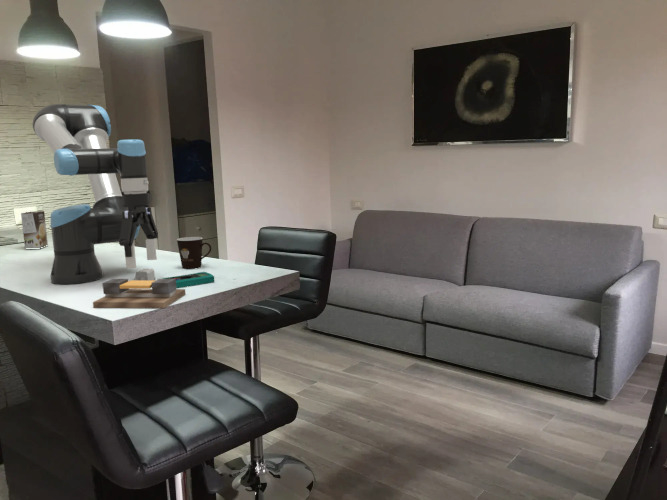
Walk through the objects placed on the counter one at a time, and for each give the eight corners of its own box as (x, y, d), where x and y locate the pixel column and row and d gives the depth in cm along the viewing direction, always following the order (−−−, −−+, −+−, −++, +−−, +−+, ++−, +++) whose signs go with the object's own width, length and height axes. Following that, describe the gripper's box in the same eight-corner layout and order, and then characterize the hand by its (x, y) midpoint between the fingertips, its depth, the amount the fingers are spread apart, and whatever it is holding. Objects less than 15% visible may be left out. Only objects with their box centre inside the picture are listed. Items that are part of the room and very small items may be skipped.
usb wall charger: (155, 281, 171) (154, 268, 170) (144, 286, 164) (143, 273, 164) (143, 281, 172) (142, 268, 171) (131, 286, 165) (130, 273, 164)
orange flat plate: (119, 288, 144) (119, 285, 144) (130, 283, 150) (130, 280, 150) (149, 288, 143) (149, 285, 143) (159, 283, 149) (159, 280, 149)
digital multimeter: (159, 287, 165) (158, 277, 164) (206, 279, 173) (205, 270, 173) (167, 291, 159) (166, 281, 158) (215, 283, 167) (215, 274, 167)
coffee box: (40, 249, 240) (35, 212, 237) (24, 250, 239) (20, 213, 237) (48, 246, 249) (44, 210, 246) (33, 246, 248) (29, 211, 246)
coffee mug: (174, 267, 191) (171, 239, 190) (195, 263, 197) (193, 236, 196) (192, 272, 183) (190, 242, 182) (214, 267, 190) (212, 238, 188)
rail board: (93, 307, 141) (91, 286, 140) (120, 294, 155) (118, 275, 154) (164, 308, 139) (162, 287, 138) (185, 294, 153) (184, 275, 152)
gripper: (127, 194, 150) (134, 271, 154) (165, 190, 175) (170, 256, 178) (101, 195, 151) (108, 271, 154) (142, 191, 176) (148, 256, 179)
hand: (142, 263), depth 166 cm, fingers open, 13 cm apart
